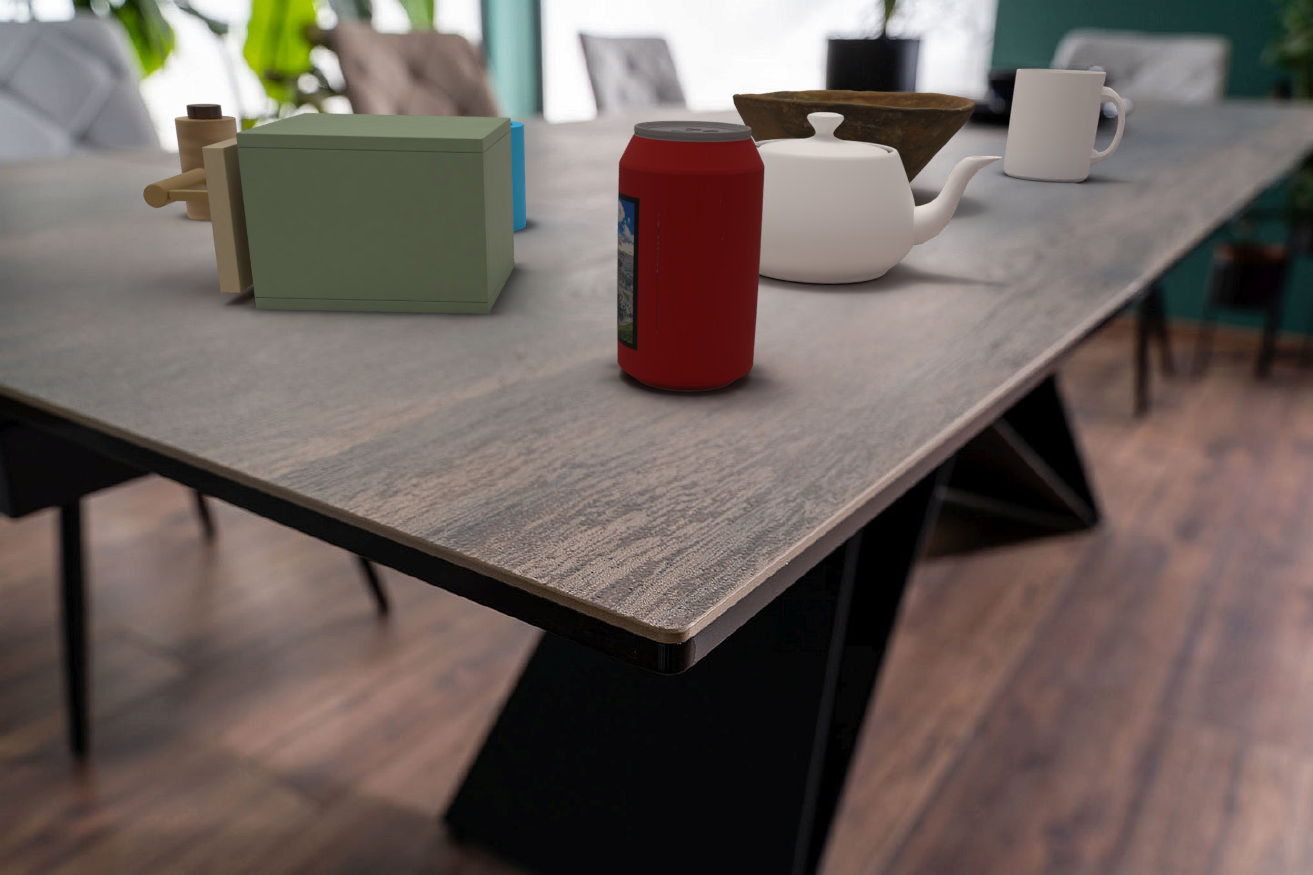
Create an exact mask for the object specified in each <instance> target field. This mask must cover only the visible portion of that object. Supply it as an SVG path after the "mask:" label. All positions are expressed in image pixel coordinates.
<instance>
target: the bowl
mask: <svg viewBox="0 0 1313 875" xmlns="http://www.w3.org/2000/svg"><path fill="white" fill-rule="evenodd" d="M732 101H733V105H734V107H735V109H736V111H737V113H738V115H739V116H740V118H741V120H742V122H743V125H745V126H749V127H751V137H752V139H753V141H754V143H755V142H759V141H764V140H776V139H806V138H810V137H812V136H814V135H815V133H816V132H815V129H814V127H813V126H812V125H811V123H810V122H809V121H808V119H807V116H808V114H812V113H816V112H828V113H837V114H840V115H843V117H844V120H843V121H842V123H841V124H840V125H839V126H838V127H837V128H836V129H835V130H834V132H833V135H834V137H836V138H838V139H840V140H845V141H857V142H866V143H873V144H879V145H885V146H888V147H892V148H894V149H896V150H897V151H898V153H899V155H900V158H901V161H902V164H903V167H904V169H905V172H906V175H907V178H908V181H909V184H910V185H911V183H912V181H913V180H914V179H915V178H916V177H917V176H918V175H919V174H920V173H921V172H922V171H923V170H924V169H925V167H926V166H927V165H929V163H930V162H931V161H932V160H933V158H934V157H935V156H937V154H938V153H939V152H940V151H941V150H942V149H943V148H944V147H945V146H946V145H947V144H948V142H949V141H950V140H952V139H953V137H954V136H955V135H956V134H957V133H958V132H959V131H960V130H961V129H962V128H963V126H964V125H965V124H966V123H967V122H968V120H969V119H970V117H971V116H972V115H973V114H974V113H975V109H976V107H977V106H976V105H977V103H976V101H975V100H974V99H970V98H968V97H963V96H959V95H954V94H953V95H952V94H946V93H938V92H912V91H911V92H909V91H908V92H907V91H906V92H905V91H874V90H865V91H857V90H851V89H841V90H840V89H807V90H806V89H805V90H780V91H772V92H764V93H735V94H732Z"/></svg>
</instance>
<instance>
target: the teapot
mask: <svg viewBox="0 0 1313 875" xmlns="http://www.w3.org/2000/svg"><path fill="white" fill-rule="evenodd" d="M807 119H808V121H809V122H810V123H811V125H812V126H813V127H814V129H815V132H816V133H815V135H814V136H812V137H810V138H806V139H776V140H764V141H759V142H755V141H754V143H755V145H756V147H757V150H758V152H759V154H760V156H761V159H762V161H763V163H764V167H765V170H764V192H763V213H762V232H761V251H760V268H759V276H763V277H767V278H771V279H777V280H782V281H787V282H797V283H805V284H834V285H835V284H836V285H837V284H853V283H861V282H867V281H872V280H874V279H879V278H881V277H883V276H885V274H886V273H888V271H889V270H890V269H892V268H894V267H895V266H896V265H897V264H900V262H901V261H903V260H904V259H905V257H907V255H909V253H910V252H911V250H912V249H913V247H915V246H918V245H919V246H920V245H923V244H925V243H926V242H928V241H930V240H932V239H933V238H935V237H937V236H939V235H940V233H941V232H942V231H943V230H944V229H945V228H946V227H947V226H948V224H949V223H950V222H951V220H952V218H953V216H954V214H955V212H956V210H957V209H958V205H959V203H960V201H961V198H962V196H963V194H964V192H965V191H966V188H967V186H968V184H969V182H970V181H972V179H973V178H974V176H975V175H976V174H977V173H978V172H979V171H980V170H981V169H984V168H985V167H987V166H989V165H990V164H993V163H994V162H996V161H999V160H1001V159H1003V156H999V155H998V156H997V155H971V156H970V155H969V156H966V157H964V158H963V159H962V160H960V161H959V162H957V164H956V165H955V166H954V167H953V169H952V170H951V172H950V174H949V176H948V178H947V179H946V182H945V184H944V186H943V188H942V190H941V191H940V193H939V194H938V195H937V197H936V198H934V199H933V200H931V201H930V202H928V203H925V204H921V205H916V203H915V198H914V195H913V192H912V188H911V183H910V184H909V181H908V178H907V175H906V172H905V169H904V167H903V164H902V161H901V158H900V155H899V153H898V151H897V150H896V149H894V148H892V147H888V146H885V145H879V144H873V143H866V142H857V141H845V140H840V139H838V138H836V137H834V135H833V132H834V130H835V129H836V128H837V127H838V126H839V125H840V124H841V123H842V121H843V120H844V117H843V115H840V114H837V113H828V112H816V113H812V114H808V116H807Z"/></svg>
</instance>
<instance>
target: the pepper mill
mask: <svg viewBox="0 0 1313 875" xmlns="http://www.w3.org/2000/svg"><path fill="white" fill-rule="evenodd" d="M185 106H186V114H187V115H184V116H179V117H175V118H174V126H175V132H176V141H177V147H178V148H177V149H178V155H179V156H178V157H179V162H180V169H181V170H180V171H181V174H182V173H185V172H188V171H191V170H194V169H197V168H202V169H204V170H205V167H204V159H203V151H202V147H205V146H208V145H212V144H215V143H218V142H222V141H225V140H228V139H232V138H235V137H236V133H237V132H238V127H237V118H236V117H234V116H229V115H223V110H222V105H221V104H218V103H192V104H190V103H189V104H186V105H185ZM206 190H207V189H206ZM185 207H186V213H187V214H186V215H187V218H188V219H190V220H195V221H209V222H211V214H210V206H209V202H198V201H185Z"/></svg>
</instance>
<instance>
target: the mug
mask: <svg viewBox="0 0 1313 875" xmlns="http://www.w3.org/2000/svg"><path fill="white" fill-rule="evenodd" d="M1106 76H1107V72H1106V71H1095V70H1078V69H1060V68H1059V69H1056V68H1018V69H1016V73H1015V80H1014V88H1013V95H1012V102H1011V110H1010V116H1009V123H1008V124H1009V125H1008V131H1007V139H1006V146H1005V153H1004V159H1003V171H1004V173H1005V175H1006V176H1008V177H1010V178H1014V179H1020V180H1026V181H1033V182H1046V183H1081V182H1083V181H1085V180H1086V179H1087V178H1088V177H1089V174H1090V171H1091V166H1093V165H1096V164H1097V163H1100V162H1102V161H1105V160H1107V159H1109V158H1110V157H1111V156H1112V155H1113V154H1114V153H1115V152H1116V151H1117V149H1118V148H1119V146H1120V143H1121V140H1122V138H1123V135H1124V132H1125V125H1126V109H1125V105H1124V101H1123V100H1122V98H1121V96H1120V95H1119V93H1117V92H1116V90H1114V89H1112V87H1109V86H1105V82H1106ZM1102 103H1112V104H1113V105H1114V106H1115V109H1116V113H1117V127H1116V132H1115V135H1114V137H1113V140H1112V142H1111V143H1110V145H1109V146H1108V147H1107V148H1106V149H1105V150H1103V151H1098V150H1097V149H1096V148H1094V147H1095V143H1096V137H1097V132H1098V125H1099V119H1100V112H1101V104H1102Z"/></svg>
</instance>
